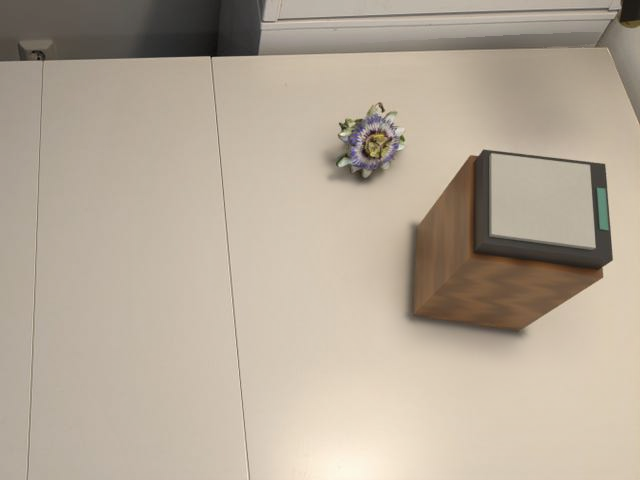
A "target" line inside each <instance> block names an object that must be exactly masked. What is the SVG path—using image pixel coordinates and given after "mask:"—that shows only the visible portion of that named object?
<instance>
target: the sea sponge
mask: <svg viewBox="0 0 640 480" xmlns="http://www.w3.org/2000/svg"><path fill="white" fill-rule="evenodd" d="M619 3H620V9H619V11H618V12H617V17H616V19H617V22H618V23H619V21H620V15H621V10H622V5H623V0H620V1H619ZM619 24H620V25H621V26H622V27H623V28H624V27H625V28H628V29H637V28H639V27H640V20H637V21H629V22H622V23H619Z"/></svg>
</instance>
